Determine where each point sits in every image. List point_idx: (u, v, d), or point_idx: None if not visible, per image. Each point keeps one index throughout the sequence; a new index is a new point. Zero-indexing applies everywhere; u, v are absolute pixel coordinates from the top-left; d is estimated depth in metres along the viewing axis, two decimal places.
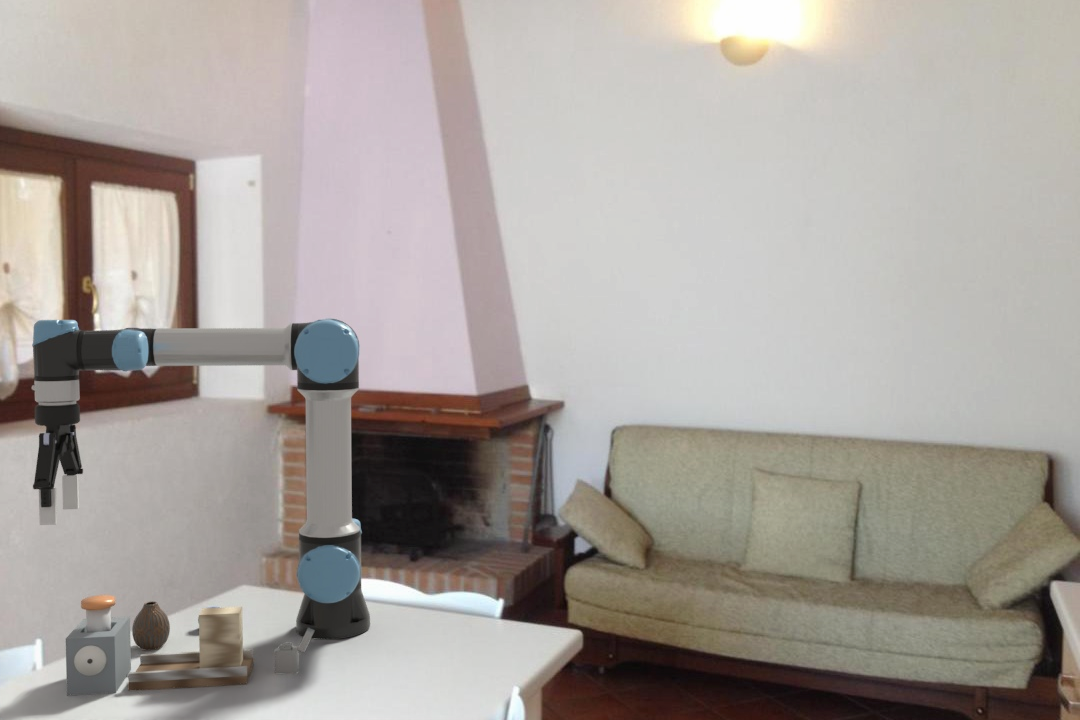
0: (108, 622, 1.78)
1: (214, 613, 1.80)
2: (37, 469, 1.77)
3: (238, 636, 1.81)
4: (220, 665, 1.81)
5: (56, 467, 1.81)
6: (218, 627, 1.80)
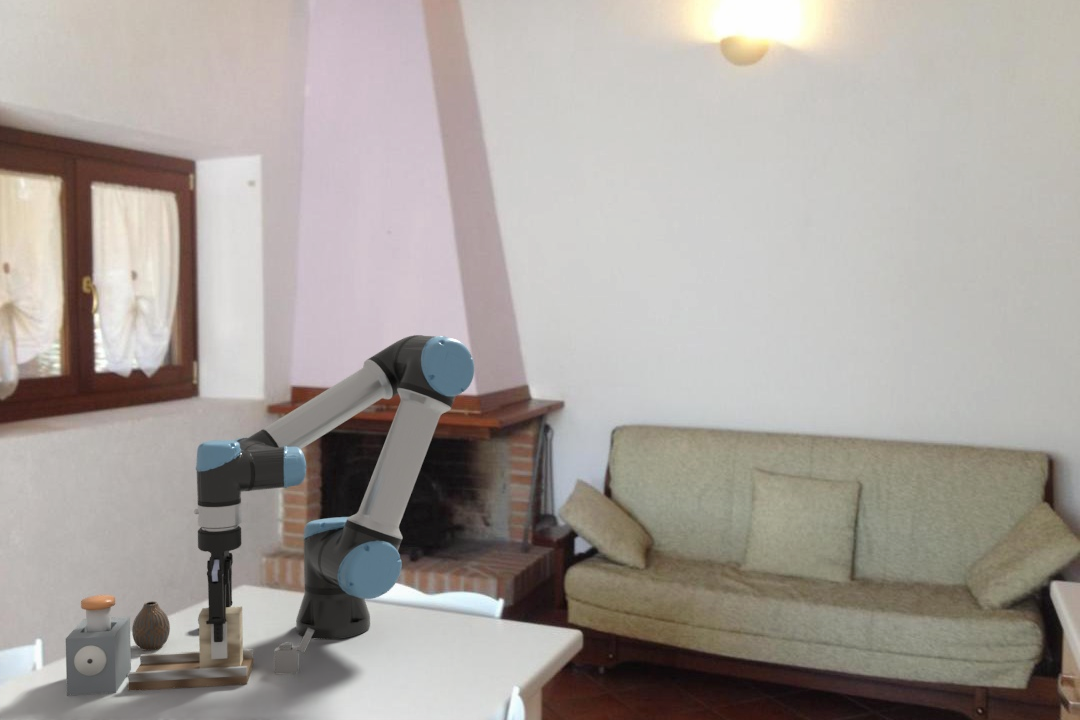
0: (108, 622, 1.78)
1: None
2: (210, 607, 1.76)
3: (238, 636, 1.81)
4: (220, 665, 1.81)
5: (225, 599, 1.79)
6: None
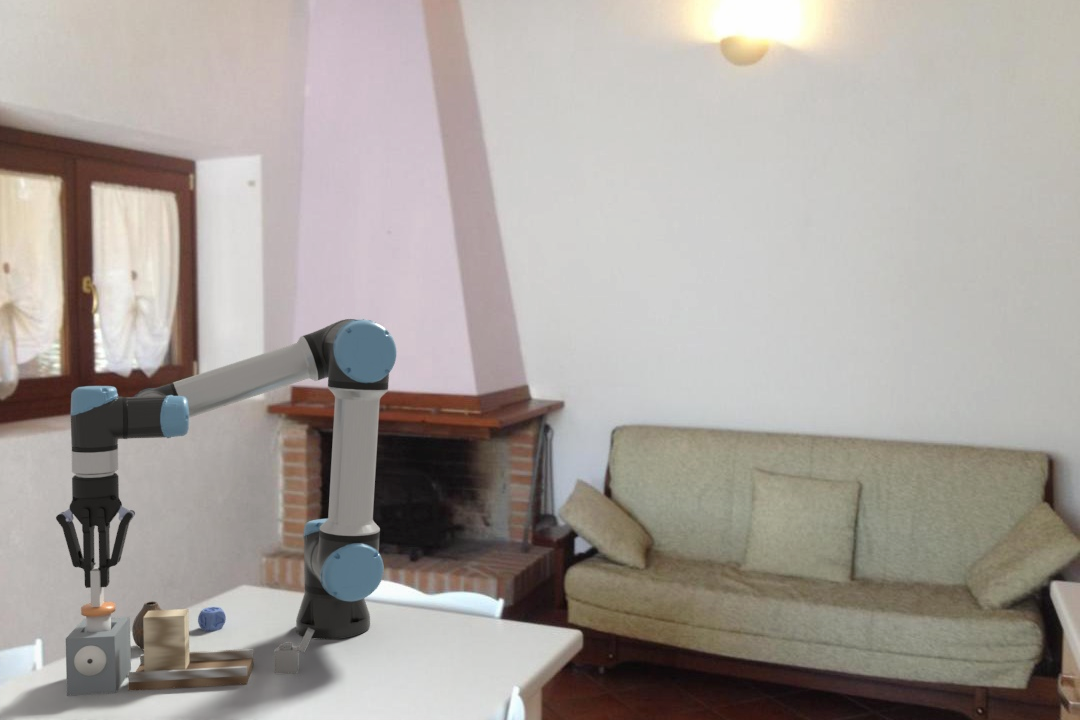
0: (108, 628, 1.78)
1: (159, 616, 1.79)
2: None
3: (183, 638, 1.79)
4: (165, 668, 1.79)
5: (86, 546, 1.76)
6: (163, 630, 1.79)
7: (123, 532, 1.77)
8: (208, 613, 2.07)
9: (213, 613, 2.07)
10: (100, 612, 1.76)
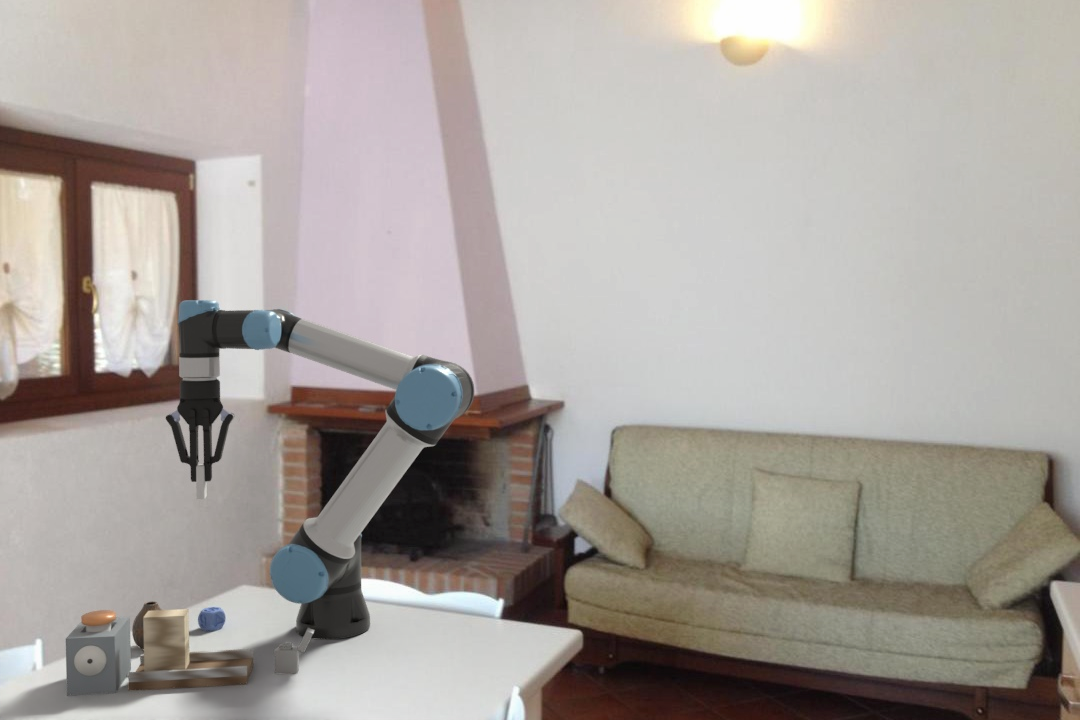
0: None
1: (159, 616, 1.79)
2: None
3: (183, 638, 1.79)
4: (165, 668, 1.79)
5: (192, 444, 1.96)
6: (163, 630, 1.79)
7: (225, 431, 1.97)
8: (208, 613, 2.07)
9: (213, 613, 2.07)
10: (100, 621, 1.76)
